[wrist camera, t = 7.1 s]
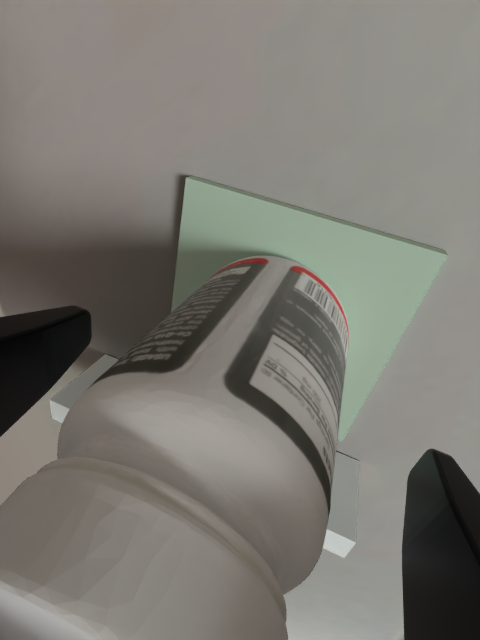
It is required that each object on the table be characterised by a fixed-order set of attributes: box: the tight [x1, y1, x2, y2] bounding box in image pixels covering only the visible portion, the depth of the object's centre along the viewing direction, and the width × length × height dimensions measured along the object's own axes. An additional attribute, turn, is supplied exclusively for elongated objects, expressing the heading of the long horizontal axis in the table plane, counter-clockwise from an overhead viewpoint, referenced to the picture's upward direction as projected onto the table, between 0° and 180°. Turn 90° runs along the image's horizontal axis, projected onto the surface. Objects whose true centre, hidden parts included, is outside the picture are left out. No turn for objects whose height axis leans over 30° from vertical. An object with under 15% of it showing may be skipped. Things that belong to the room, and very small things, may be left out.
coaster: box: [171, 176, 448, 441], centre depth 11 cm, size 7×7×1 cm
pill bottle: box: [0, 256, 349, 640], centre depth 7 cm, size 5×5×8 cm
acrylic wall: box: [50, 354, 360, 558], centre depth 13 cm, size 1×11×3 cm, turn 79°
